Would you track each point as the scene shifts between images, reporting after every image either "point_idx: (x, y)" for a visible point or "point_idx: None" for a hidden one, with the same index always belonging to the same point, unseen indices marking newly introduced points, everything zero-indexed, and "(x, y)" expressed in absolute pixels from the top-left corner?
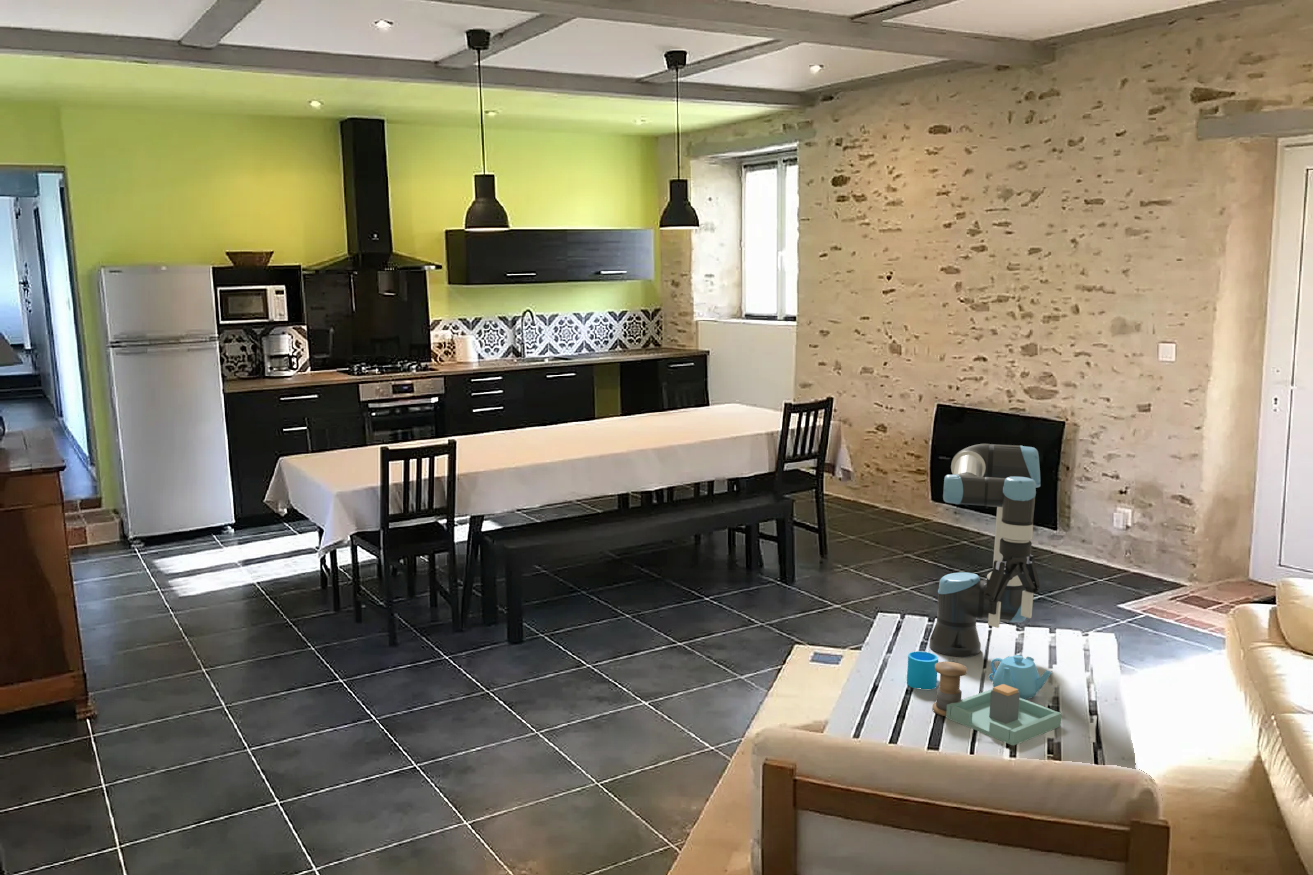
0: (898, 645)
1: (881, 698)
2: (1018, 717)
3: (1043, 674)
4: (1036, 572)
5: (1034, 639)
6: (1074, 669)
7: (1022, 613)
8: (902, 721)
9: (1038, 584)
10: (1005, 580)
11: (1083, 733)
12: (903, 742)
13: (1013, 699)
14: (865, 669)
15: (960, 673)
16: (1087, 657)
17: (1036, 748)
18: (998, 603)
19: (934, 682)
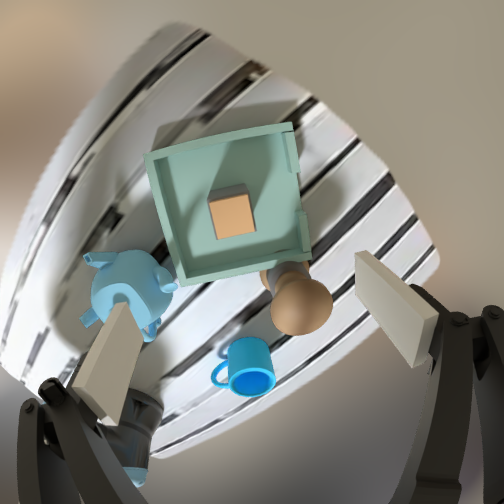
0: (194, 427)
1: (333, 330)
2: (202, 196)
3: (97, 260)
4: (19, 486)
5: (41, 381)
6: (26, 312)
7: (138, 339)
8: None
9: (25, 416)
10: (461, 455)
11: (135, 119)
12: (409, 208)
13: (227, 193)
14: (281, 396)
15: (307, 281)
16: (6, 328)
17: (256, 101)
18: (434, 312)
19: (242, 344)
